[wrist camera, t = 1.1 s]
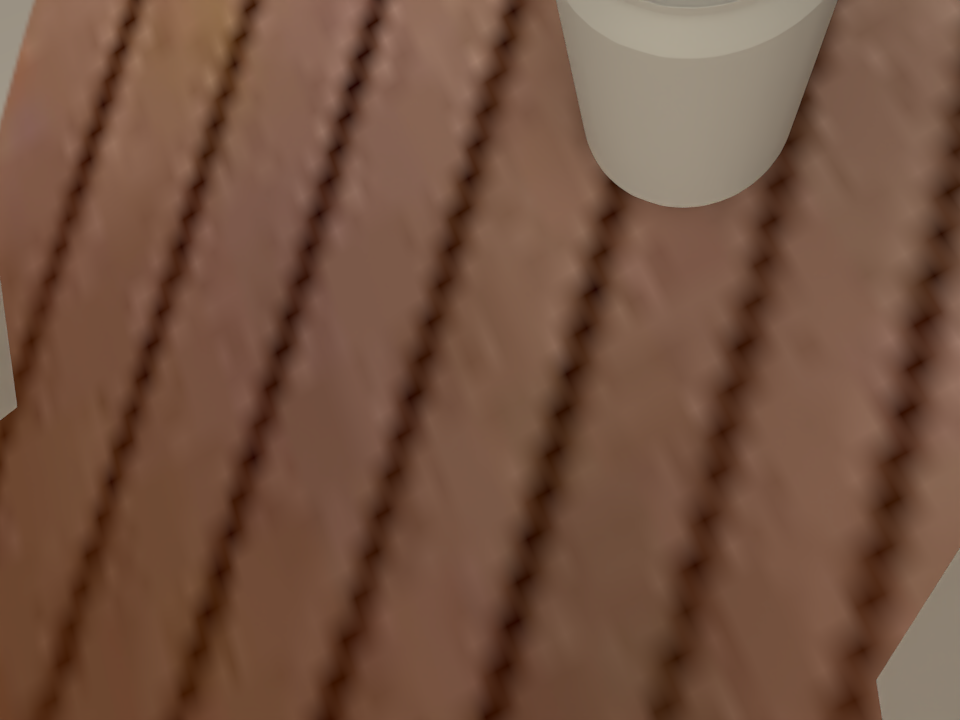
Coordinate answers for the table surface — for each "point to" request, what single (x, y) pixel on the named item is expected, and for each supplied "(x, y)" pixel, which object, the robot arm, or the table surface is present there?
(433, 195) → the table surface
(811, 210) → the table surface
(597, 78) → the beverage can
